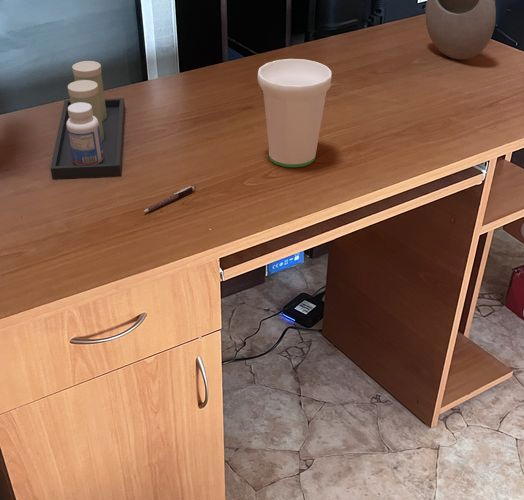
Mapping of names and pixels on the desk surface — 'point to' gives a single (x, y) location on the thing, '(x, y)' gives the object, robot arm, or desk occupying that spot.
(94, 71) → the bottle back
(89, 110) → the pill bottle
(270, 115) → the cup
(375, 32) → the desk surface
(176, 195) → the pen
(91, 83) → the bottle mid
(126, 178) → the desk surface
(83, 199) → the desk surface
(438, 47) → the planter
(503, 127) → the desk surface
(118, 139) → the tray
